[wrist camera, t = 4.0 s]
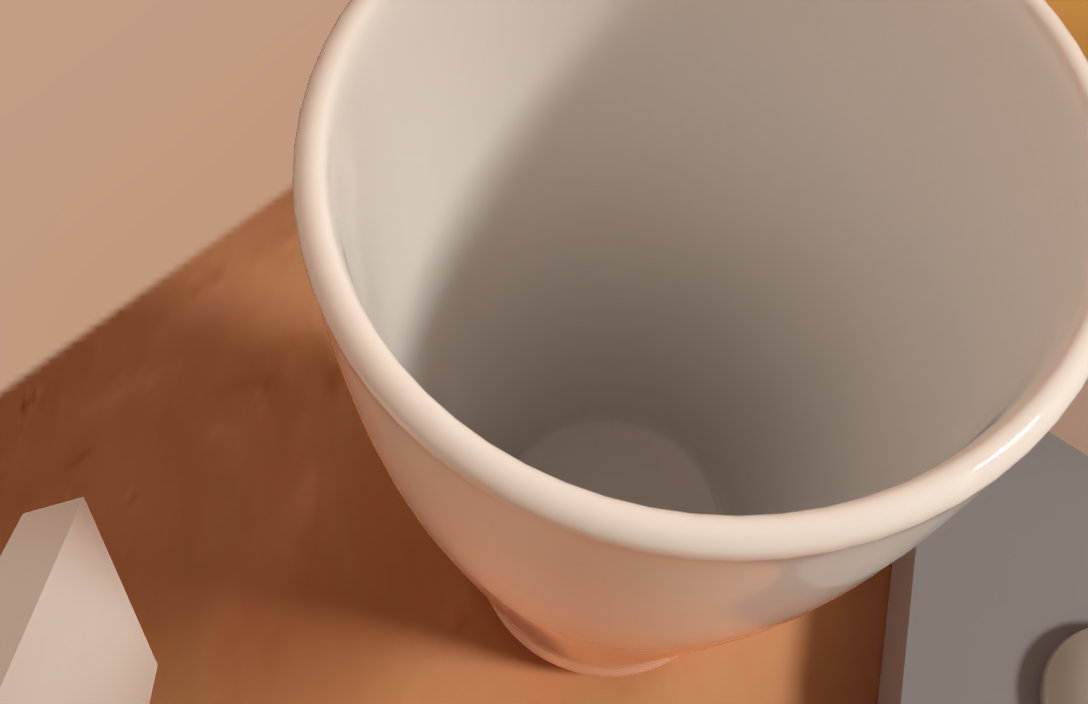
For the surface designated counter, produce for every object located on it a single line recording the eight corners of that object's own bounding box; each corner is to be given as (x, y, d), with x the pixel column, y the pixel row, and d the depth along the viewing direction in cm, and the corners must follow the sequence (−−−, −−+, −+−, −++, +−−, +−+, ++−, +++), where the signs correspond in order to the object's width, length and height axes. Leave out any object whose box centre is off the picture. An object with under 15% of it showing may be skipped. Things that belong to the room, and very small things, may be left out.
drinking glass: (422, 430, 23) (241, -119, 9) (716, 376, 23) (967, -221, 10) (473, 749, 20) (328, 662, 6) (803, 679, 21) (1319, 461, 7)
